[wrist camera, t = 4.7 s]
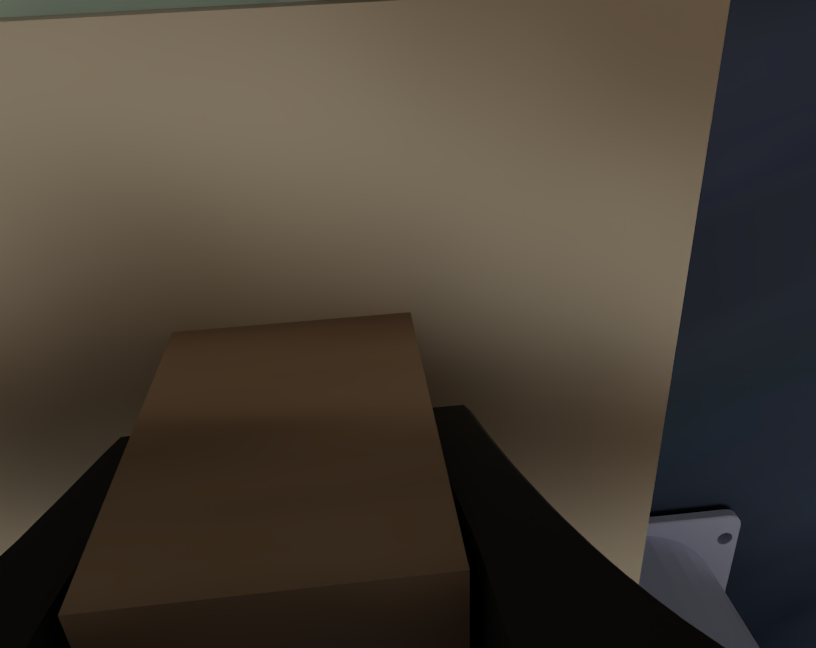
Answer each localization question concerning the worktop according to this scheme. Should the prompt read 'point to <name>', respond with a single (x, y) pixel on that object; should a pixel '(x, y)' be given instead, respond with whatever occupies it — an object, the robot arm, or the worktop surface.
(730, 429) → the worktop surface
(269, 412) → the lid
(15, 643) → the robot arm
